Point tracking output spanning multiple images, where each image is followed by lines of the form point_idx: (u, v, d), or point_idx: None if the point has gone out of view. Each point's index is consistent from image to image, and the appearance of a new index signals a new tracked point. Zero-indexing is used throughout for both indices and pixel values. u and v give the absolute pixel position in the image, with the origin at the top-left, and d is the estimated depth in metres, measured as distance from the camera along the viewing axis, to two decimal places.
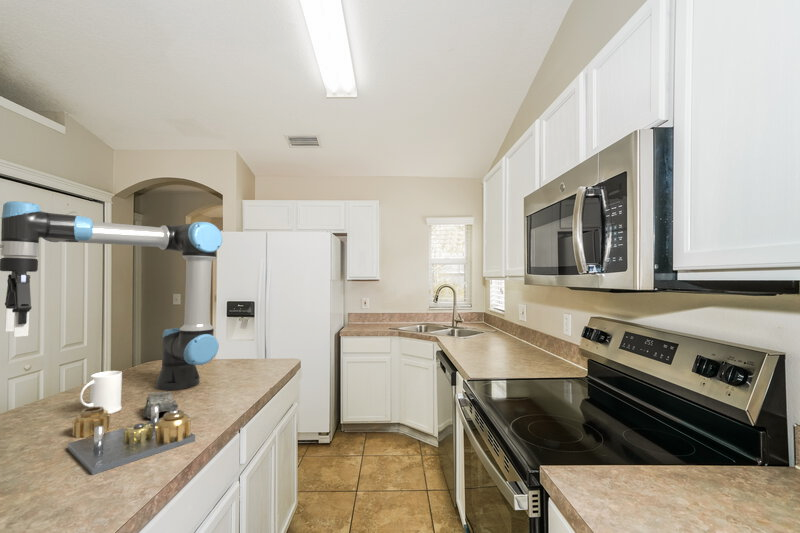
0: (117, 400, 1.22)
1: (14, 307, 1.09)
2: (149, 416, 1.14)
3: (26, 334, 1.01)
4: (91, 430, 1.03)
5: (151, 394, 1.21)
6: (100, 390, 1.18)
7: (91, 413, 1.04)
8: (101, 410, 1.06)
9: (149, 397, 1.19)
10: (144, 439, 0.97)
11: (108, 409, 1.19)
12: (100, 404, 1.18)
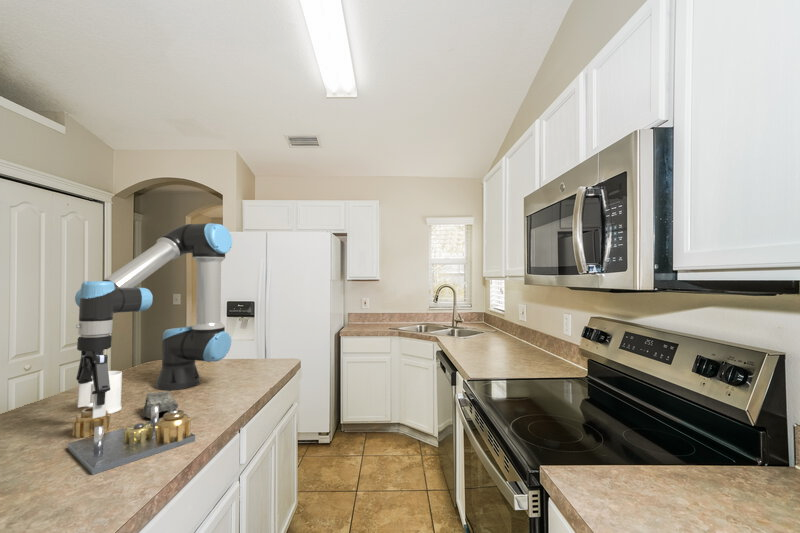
0: (117, 400, 1.22)
1: (86, 382, 1.11)
2: (150, 416, 1.14)
3: (103, 414, 1.02)
4: (91, 430, 1.03)
5: (150, 394, 1.20)
6: None
7: (91, 413, 1.04)
8: None
9: (148, 397, 1.19)
10: (144, 439, 0.97)
11: (108, 409, 1.19)
12: None
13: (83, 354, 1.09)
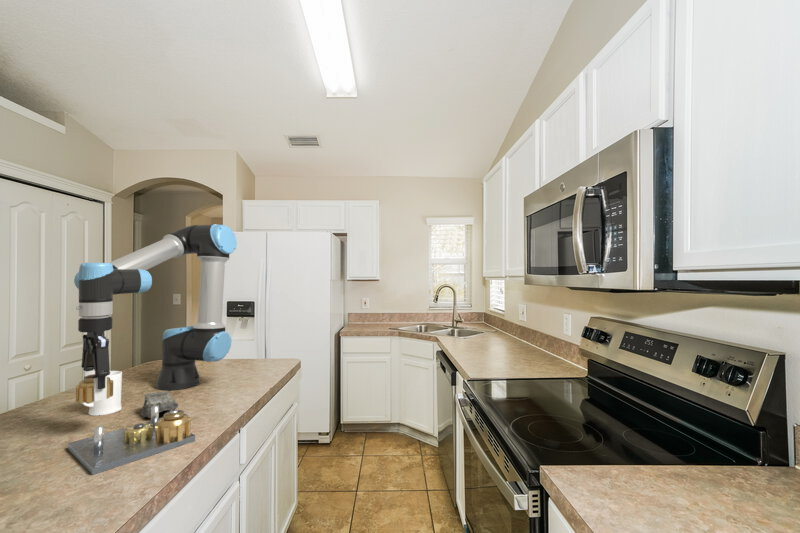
0: (117, 400, 1.22)
1: (91, 369, 1.10)
2: (150, 416, 1.14)
3: (104, 397, 1.05)
4: None
5: (148, 394, 1.20)
6: None
7: None
8: None
9: (147, 397, 1.19)
10: (144, 439, 0.97)
11: (108, 409, 1.19)
12: (100, 404, 1.18)
13: (85, 338, 1.09)
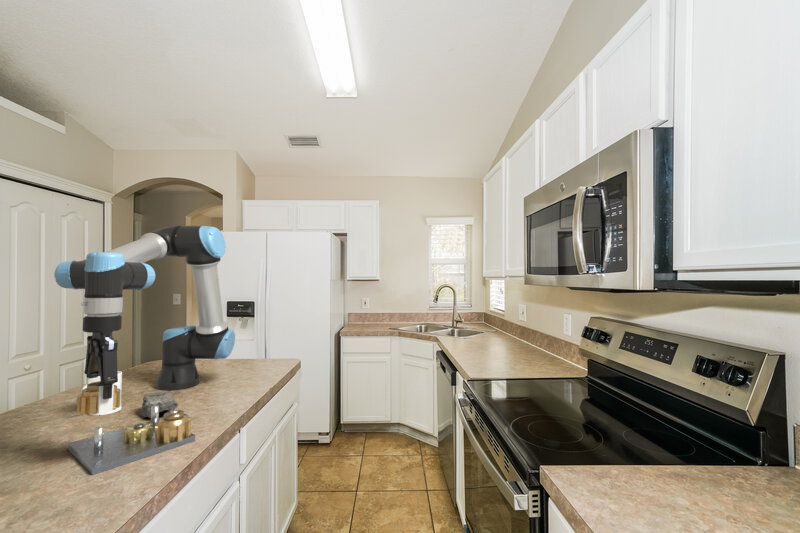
0: None
1: (95, 375, 0.95)
2: None
3: (110, 409, 0.90)
4: None
5: (147, 395, 1.20)
6: None
7: (98, 387, 0.90)
8: None
9: (146, 397, 1.18)
10: (144, 439, 0.97)
11: None
12: None
13: (89, 340, 0.95)
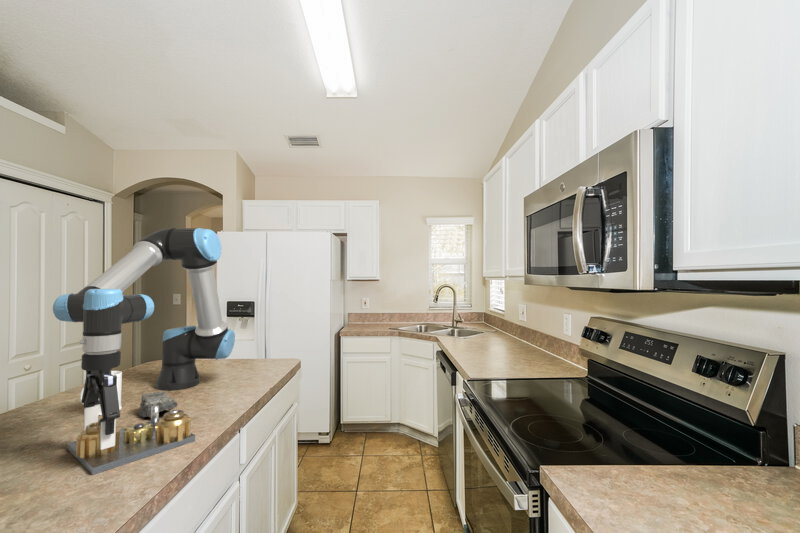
0: None
1: (92, 405, 0.96)
2: None
3: (113, 444, 0.89)
4: (97, 449, 0.89)
5: (145, 395, 1.20)
6: None
7: (97, 429, 0.90)
8: None
9: (145, 398, 1.18)
10: (144, 439, 0.97)
11: None
12: None
13: (88, 373, 0.95)
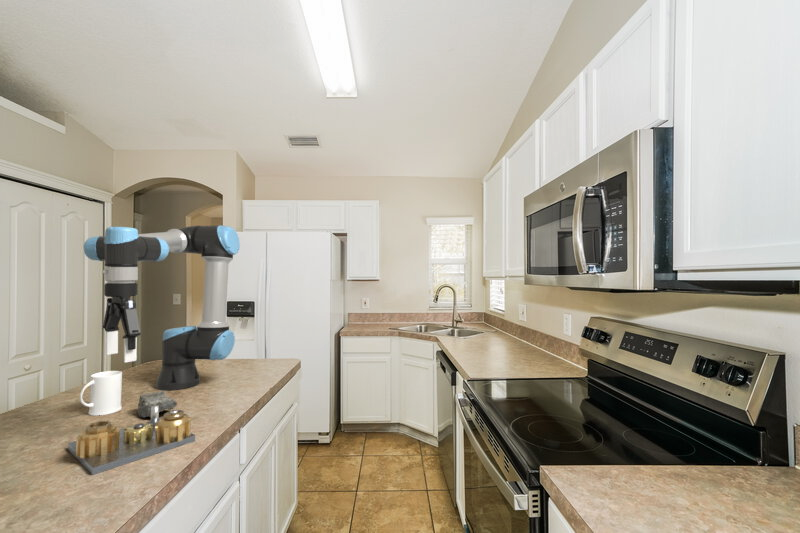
0: (117, 400, 1.22)
1: (112, 330, 1.10)
2: None
3: (134, 359, 1.02)
4: (97, 449, 0.89)
5: (144, 395, 1.19)
6: (100, 390, 1.18)
7: (97, 429, 0.90)
8: (109, 425, 0.92)
9: (144, 398, 1.18)
10: (144, 439, 0.97)
11: (108, 409, 1.19)
12: (100, 404, 1.18)
13: (109, 302, 1.08)
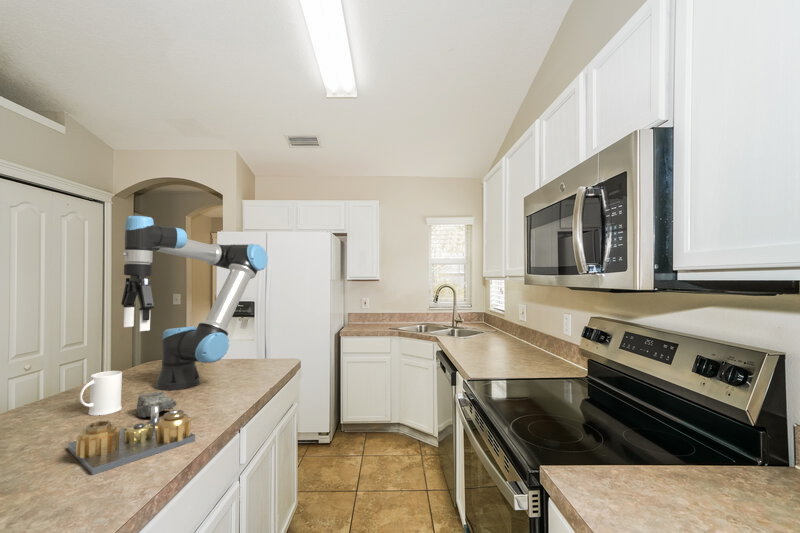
0: (117, 400, 1.22)
1: (129, 306, 1.27)
2: None
3: (148, 329, 1.19)
4: (97, 449, 0.89)
5: (143, 395, 1.19)
6: (100, 390, 1.18)
7: (97, 429, 0.90)
8: (109, 425, 0.92)
9: (143, 398, 1.18)
10: (144, 439, 0.97)
11: (108, 409, 1.19)
12: (100, 404, 1.18)
13: (127, 281, 1.25)
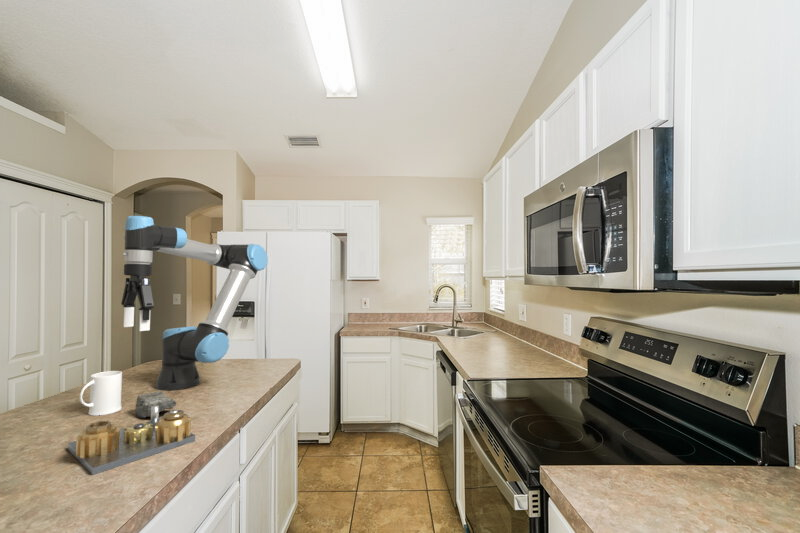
0: (117, 400, 1.22)
1: (129, 306, 1.27)
2: None
3: (148, 329, 1.19)
4: (97, 449, 0.89)
5: (142, 395, 1.19)
6: (100, 390, 1.18)
7: (97, 429, 0.90)
8: (109, 425, 0.92)
9: (143, 398, 1.18)
10: (144, 439, 0.97)
11: (108, 409, 1.19)
12: (100, 404, 1.18)
13: (127, 281, 1.25)
